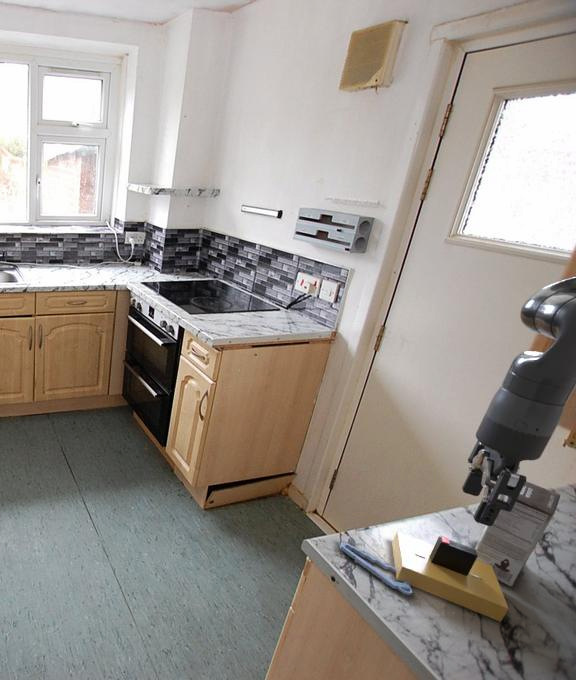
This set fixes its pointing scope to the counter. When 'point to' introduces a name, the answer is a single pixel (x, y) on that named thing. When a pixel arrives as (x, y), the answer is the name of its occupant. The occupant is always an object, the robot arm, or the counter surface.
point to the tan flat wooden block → (448, 578)
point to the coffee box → (517, 532)
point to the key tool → (385, 579)
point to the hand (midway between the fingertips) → (475, 507)
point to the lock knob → (453, 556)
